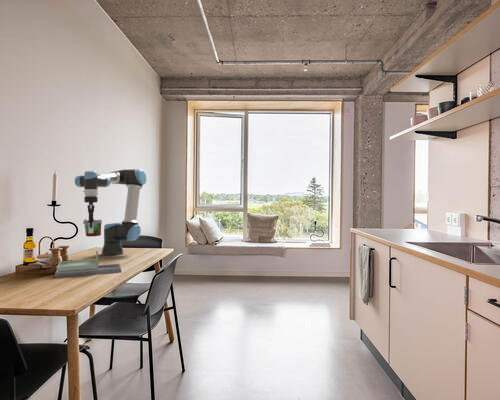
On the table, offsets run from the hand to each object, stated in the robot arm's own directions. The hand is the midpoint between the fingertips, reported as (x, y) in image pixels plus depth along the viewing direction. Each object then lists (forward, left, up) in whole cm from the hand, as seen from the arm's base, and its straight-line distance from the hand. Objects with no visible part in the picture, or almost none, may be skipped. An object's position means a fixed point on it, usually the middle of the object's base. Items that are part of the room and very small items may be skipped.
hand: (91, 232), depth 212 cm
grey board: (+19, -1, -21) cm, 28 cm away
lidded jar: (-2, -24, -21) cm, 32 cm away
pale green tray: (+19, -6, -18) cm, 27 cm away
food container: (0, 0, -2) cm, 3 cm away
